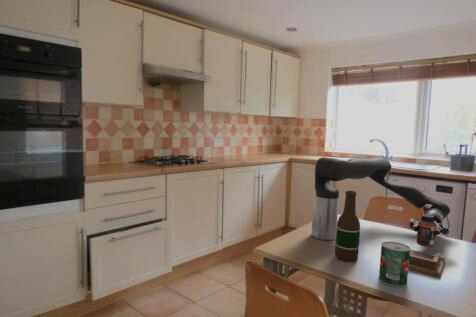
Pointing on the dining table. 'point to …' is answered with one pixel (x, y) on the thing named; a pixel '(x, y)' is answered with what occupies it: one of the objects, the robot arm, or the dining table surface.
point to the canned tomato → (394, 264)
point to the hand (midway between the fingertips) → (425, 230)
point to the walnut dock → (426, 263)
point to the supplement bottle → (426, 231)
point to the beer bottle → (348, 231)
